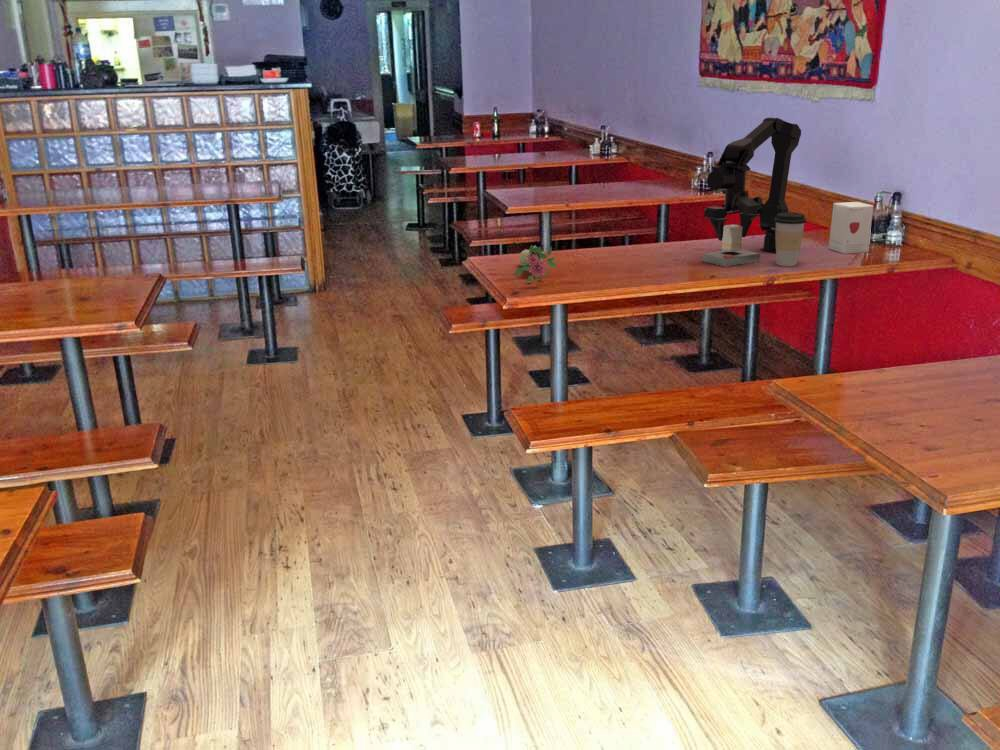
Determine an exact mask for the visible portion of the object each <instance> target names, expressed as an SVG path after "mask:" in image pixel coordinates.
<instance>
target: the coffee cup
mask: <svg viewBox="0 0 1000 750" xmlns="http://www.w3.org/2000/svg"><path fill="white" fill-rule="evenodd" d="M807 219H808V218H806V217H805V214H804V213H799V212H788V213H778V214H777V216H776V217H775V218H774V222H776V230H775V238H776V254H775V256H776V265H777V264H778V265H777V266H779V265H781V266H780V267H795V265H796V266H797V265H798V259H799V254H800V250H801V246H802V242H803V241H802V240H803V235H804V227H805V224H806V223H807V222H808V221H807Z"/></svg>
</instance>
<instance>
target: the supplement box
mask: <svg viewBox="0 0 1000 750" xmlns="http://www.w3.org/2000/svg"><path fill="white" fill-rule="evenodd" d="M873 212H874V205H873V204H868V203H865V202H861V201H849V202H848V201H846V202H833V205H832V214H831V224H830V232H829V242H828V249H829V250H831V251H835V252H837V253H840V254H843V255H846V254H862V253H868V252H869V247H870V240H871V239H870V238H871V233H872V232H871V231H872V230H871V229H872V223H873Z"/></svg>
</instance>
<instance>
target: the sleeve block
mask: <svg viewBox="0 0 1000 750" xmlns="http://www.w3.org/2000/svg"><path fill="white" fill-rule="evenodd" d="M701 255H702V259H701V261H702V262H703V261H704V262H703V263H707V262H708V263H707V264H711V263H713V264H712V265H714V264H717V265H716V266H718V265H720V266H719V267H722V266H728V267H732V266H731V265H735V266H738V265H737V264H741V265H744V264H743V263H748V264H751V263H750V262H754V263H758V262H757V261H759V262H760V261H761V260H760V258H761V254H760V253H759V252H755V251H751V250H746V249H743V248H741V250H740V251H733V252H729V251H725V250H722V249H721V250H718V251H717V250H716V251H709V252H704V253H703V252H702V254H701Z"/></svg>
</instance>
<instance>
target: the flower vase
mask: <svg viewBox="0 0 1000 750" xmlns="http://www.w3.org/2000/svg"><path fill="white" fill-rule="evenodd" d="M552 250H553V248H552V246H550V247H549V248H548V250H547V252H546V253H544V251H542V248H541V246H539V247H538V246H536V245H533V244H531V245H530V246H529V249H523V250H522V251H521V252H520V253H519V255H518V257H519V261H520V263H519V265H520V266H522V267H519V268H517V269H516V270H515V271H514V273H513V275H520V274H522V273H523V271H526V272H527V271H528V273H532V274H531V275H529V276H528V278H527V280H526V282H527V281H532V282H533V280H534V277H535V278H536V280H537V281H538V279H541V280H542V276H544V275H545V276H547V274H548V269H547V265H546V264H548V267H551V268H557V267H558V266H557V264H556V263H555V262H553V261H554V260H555V259H556V257H555V256H553V257H549V258H548V257H547V256H551V255H552ZM546 258H547V259H546ZM544 260H546V261H547V262H548V263H547V262H546V263H545V262H544ZM525 264H526V265H525ZM527 264H528V265H527ZM529 264H530V265H529Z"/></svg>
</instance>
